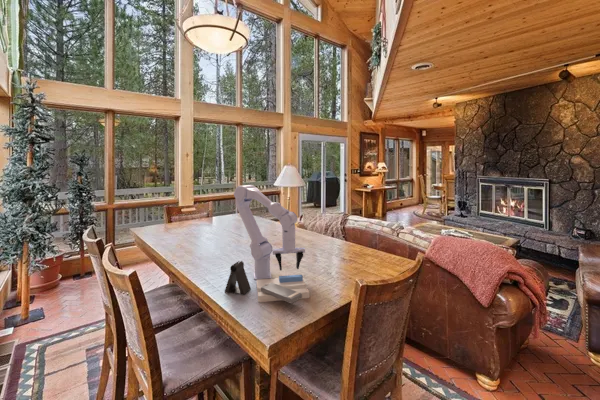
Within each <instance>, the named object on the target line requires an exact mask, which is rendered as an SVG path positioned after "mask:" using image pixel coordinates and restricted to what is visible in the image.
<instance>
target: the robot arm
mask: <svg viewBox="0 0 600 400" xmlns="http://www.w3.org/2000/svg"><path fill="white" fill-rule="evenodd" d="M233 196H234V199H235V206H236V210H237V211H238V212H237V213H239V215H240V218H241V221H242V222H243V225H244V227H245V229H246V231H247V234H248V236H249V238H250V240H251V242H250V245H249V247H250V254H251V256H252V258H253V260H254V270H253V280H256V281H257V280H261V279H273V278H272V273H271V254H272V255H273V256H275V258H276V261H277V263H278V267H279V271H282V270H283V269H282V255H286V254H295V255H296V265H295V266H296V267H295V268H296V269H297V270H299V268H300V264H301V261H302V259H303V257H304V254H306V248H305V247H296V223H297V222H298V215H297V214H296V213H295V212H294V211H290V210H289V209H287V208H286V207H284V206H282V203H280V202H278V201H276V202H275V201H274V202H273V201H272V200H270V199H269V198H268V197H267V196H266V195H265V194H263V192H261V191H260V190H259V188H258V187H257V186H255V185H253V184H247V185H238V186H236V187H235V189H234V192H233ZM253 200H255V201H257V202H258V203H259V204H261V205H262V206H264V207H265V208H267V210H268V213H269V214H270V215H272V216H273V217H274V218H276V219H277V220H279V224H280V225H281V231H282V234H281V235H282V239H281V240H282V242H281V243H282V247H281V248H273V246H272V243H270V242H269V241H268V239H267V238H268V237H265V236H264V235H263V234H262V232H261V229H260V227H259V225H258V224H257V220H256V218H255V217H254V214H253V212H252V210H251V207H250V205H251V203H252V201H253Z"/></svg>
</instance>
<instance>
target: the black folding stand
mask: <svg viewBox="0 0 600 400" xmlns="http://www.w3.org/2000/svg"><path fill="white" fill-rule="evenodd" d="M244 266H245V264H244V261H243V260H241V261H240V260H238V261H236V262H235V263H234V264H232V265H231V266H230V273H229V276H228V280H227V283H226V285H225V288H224V289H225V290H224V293H226V292H227V293H228V294H235V295H242V296H245V294H247V292H249V291H250V290H251V289H252V288H251V285H250V282H249V279H248V276H247V274H246V271H245V268H244Z"/></svg>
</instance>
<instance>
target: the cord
mask: <svg viewBox="0 0 600 400" xmlns="http://www.w3.org/2000/svg"><path fill="white" fill-rule="evenodd" d="M278 278H279V282H280V283H283V282H297V281H303V280H304V279H303V274H292V275H291V274H290V275H279V277H278Z"/></svg>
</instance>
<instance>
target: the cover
mask: <svg viewBox="0 0 600 400" xmlns="http://www.w3.org/2000/svg"><path fill="white" fill-rule="evenodd" d="M261 291H262V292H264V293H267V294H269V295H272V296H274V297H277V298H279V299H282V300H281V301H284V302H287V303H290V304H293V303H294V302H295V303H296V301H298V300H301V299H300V298H302V293H299V292H296V291H294V290H291V289H288V288H285V287H283V286H280V285H277V284H274V283H269V284H265V286H263V287H261Z"/></svg>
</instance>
